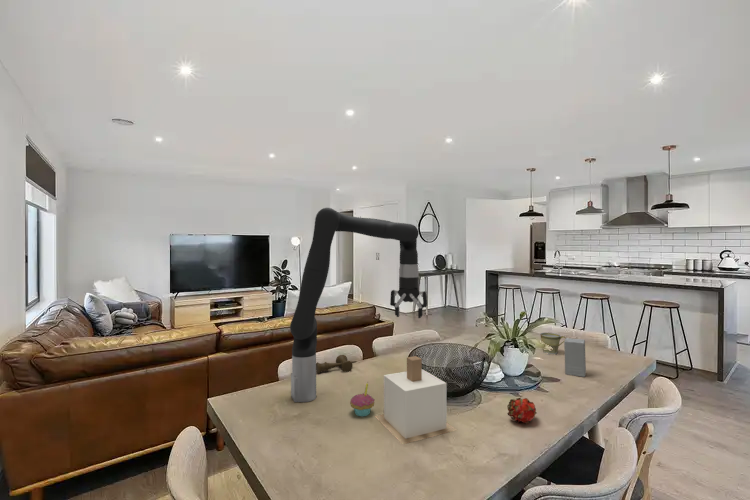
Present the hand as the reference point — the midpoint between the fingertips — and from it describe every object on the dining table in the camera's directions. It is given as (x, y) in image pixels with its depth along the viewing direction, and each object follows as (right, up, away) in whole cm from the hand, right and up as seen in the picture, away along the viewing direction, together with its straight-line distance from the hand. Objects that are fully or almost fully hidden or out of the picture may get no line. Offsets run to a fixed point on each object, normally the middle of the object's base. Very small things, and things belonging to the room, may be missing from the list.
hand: (408, 317), depth 147 cm
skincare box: (+79, -31, +26) cm, 88 cm away
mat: (0, -32, -21) cm, 38 cm away
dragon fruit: (+37, -32, -18) cm, 52 cm away
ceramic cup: (+84, -30, +58) cm, 106 cm away
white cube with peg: (0, -32, -21) cm, 38 cm away
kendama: (-31, -32, +33) cm, 55 cm away
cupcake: (-18, -32, -13) cm, 39 cm away
